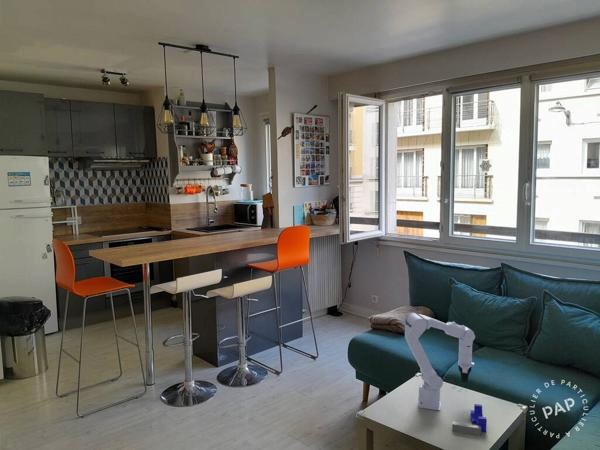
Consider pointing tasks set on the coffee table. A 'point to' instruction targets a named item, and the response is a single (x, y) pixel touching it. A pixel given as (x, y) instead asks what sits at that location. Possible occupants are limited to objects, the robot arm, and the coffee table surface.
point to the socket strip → (466, 428)
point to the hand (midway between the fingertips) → (464, 381)
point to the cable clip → (478, 417)
